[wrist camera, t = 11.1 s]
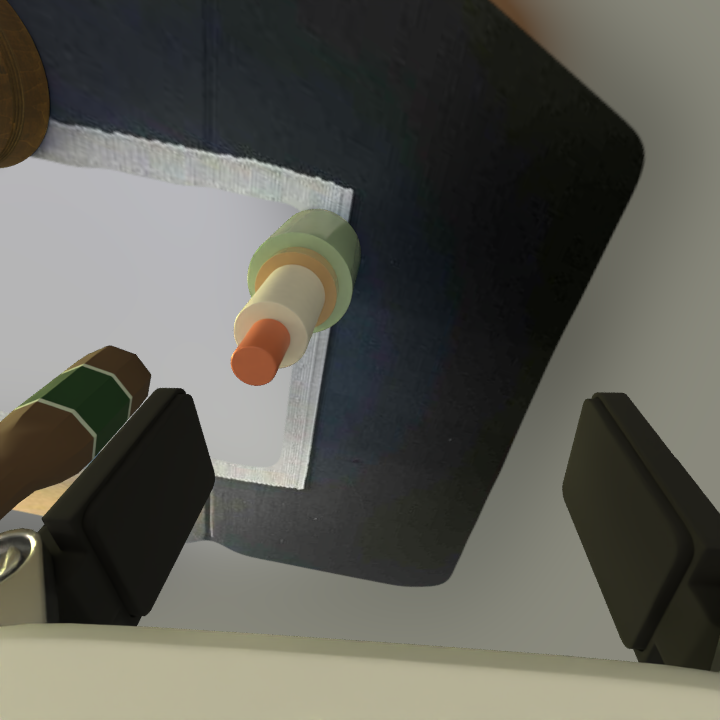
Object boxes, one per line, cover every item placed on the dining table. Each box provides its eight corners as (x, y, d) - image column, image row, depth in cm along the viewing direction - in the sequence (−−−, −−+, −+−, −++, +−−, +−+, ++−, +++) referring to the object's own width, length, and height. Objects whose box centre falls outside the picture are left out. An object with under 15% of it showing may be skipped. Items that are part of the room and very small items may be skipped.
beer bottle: (133, 412, 52) (-45, 614, 31) (74, 372, 49) (-162, 560, 29) (167, 374, 49) (-6, 569, 28) (105, 329, 46) (-134, 505, 25)
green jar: (270, 210, 39) (231, 239, 30) (358, 207, 38) (346, 235, 29) (282, 294, 43) (251, 343, 34) (363, 292, 42) (353, 341, 33)
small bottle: (260, 264, 31) (202, 328, 21) (322, 263, 30) (289, 327, 21) (270, 322, 33) (220, 401, 24) (327, 321, 32) (300, 402, 23)
